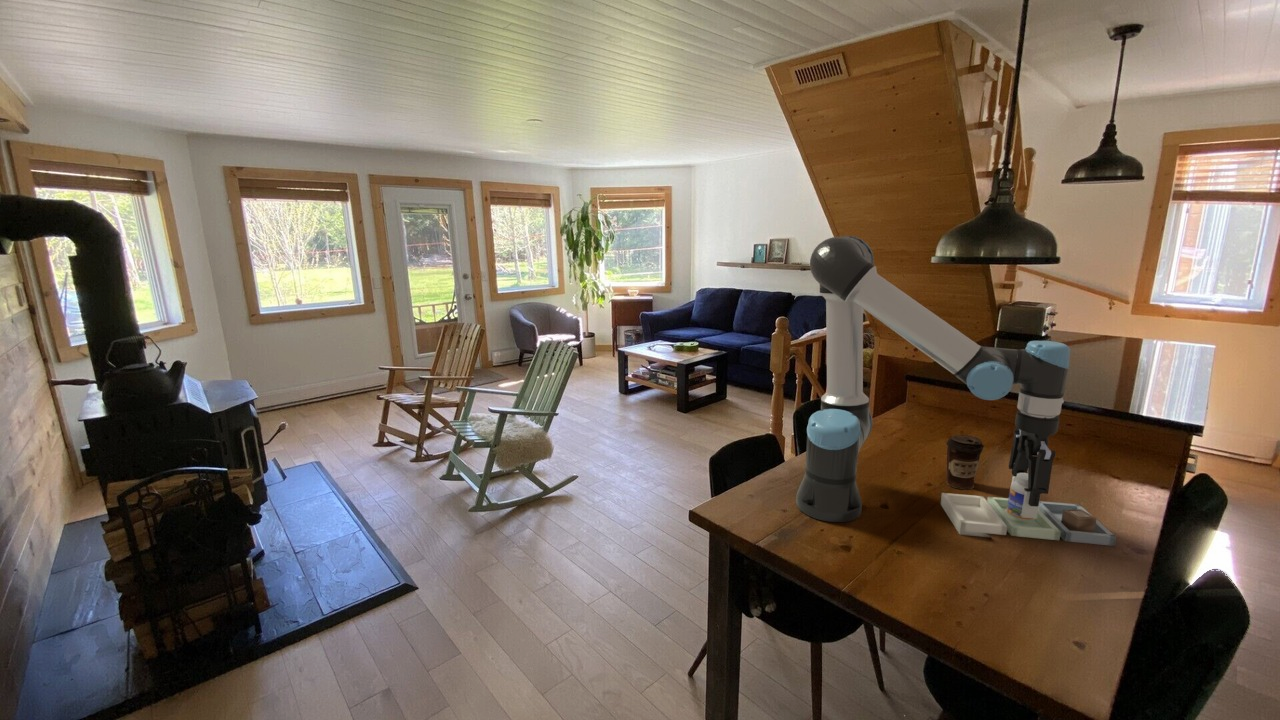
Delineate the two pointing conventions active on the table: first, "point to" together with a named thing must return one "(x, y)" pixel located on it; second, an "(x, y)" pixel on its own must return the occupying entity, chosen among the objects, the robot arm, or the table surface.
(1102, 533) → the bin
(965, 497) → the bin
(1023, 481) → the pill bottle
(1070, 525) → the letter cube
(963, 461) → the coffee cup
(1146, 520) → the table surface
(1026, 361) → the robot arm
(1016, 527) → the bin mid
